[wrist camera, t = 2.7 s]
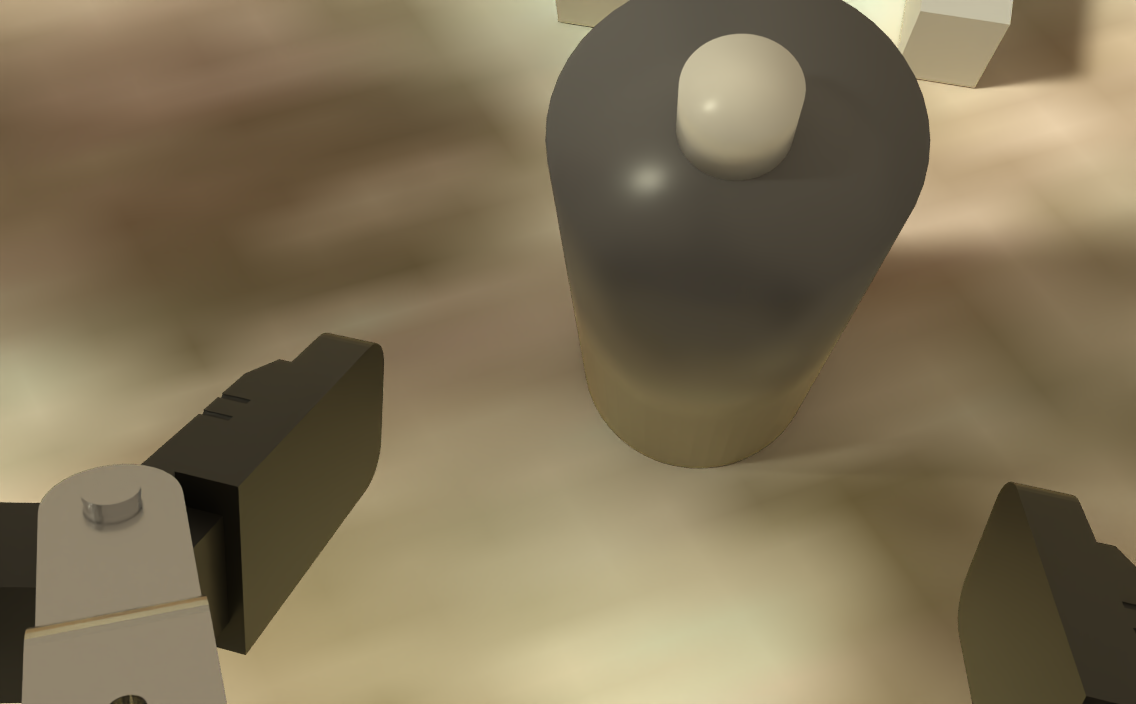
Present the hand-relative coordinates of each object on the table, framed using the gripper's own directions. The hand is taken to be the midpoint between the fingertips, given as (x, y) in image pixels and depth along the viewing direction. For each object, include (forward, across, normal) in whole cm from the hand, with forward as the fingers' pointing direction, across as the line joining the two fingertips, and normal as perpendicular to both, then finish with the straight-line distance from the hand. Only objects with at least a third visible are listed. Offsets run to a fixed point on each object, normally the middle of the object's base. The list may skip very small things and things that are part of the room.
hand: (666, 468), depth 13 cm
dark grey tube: (+10, 0, +3) cm, 10 cm away
